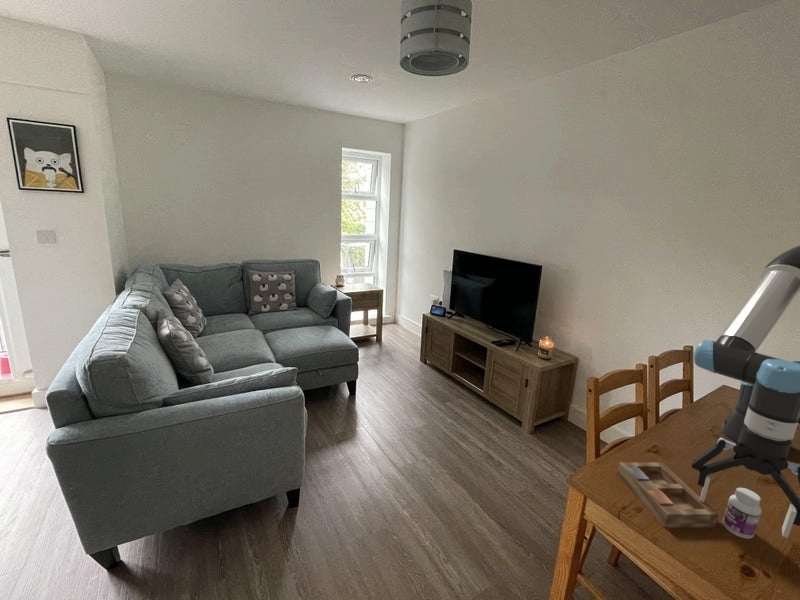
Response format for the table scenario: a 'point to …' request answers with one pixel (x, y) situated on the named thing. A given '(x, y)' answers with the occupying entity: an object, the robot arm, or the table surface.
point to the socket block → (666, 495)
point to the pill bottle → (742, 513)
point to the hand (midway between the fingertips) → (741, 515)
